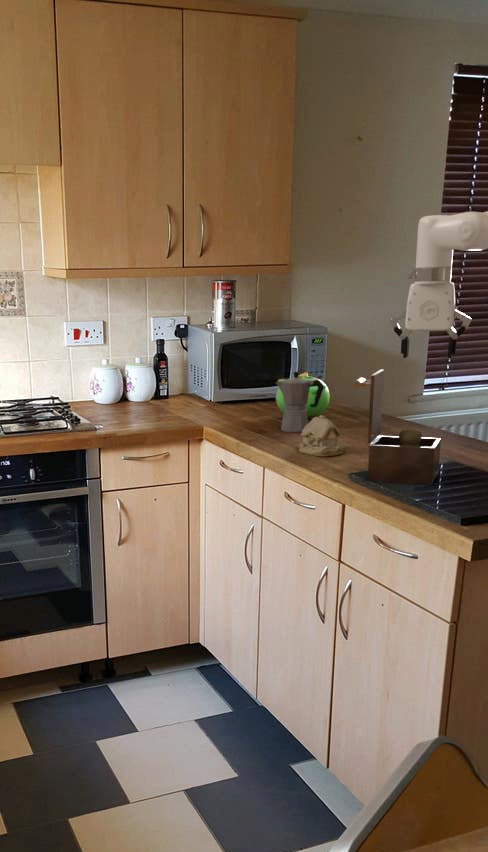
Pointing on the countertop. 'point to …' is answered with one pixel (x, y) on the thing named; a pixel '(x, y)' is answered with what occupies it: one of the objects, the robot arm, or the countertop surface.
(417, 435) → the cork
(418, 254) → the robot arm
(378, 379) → the lid
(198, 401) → the countertop surface
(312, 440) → the ceramic model
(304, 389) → the coffeepot
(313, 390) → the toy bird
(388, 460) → the chest
